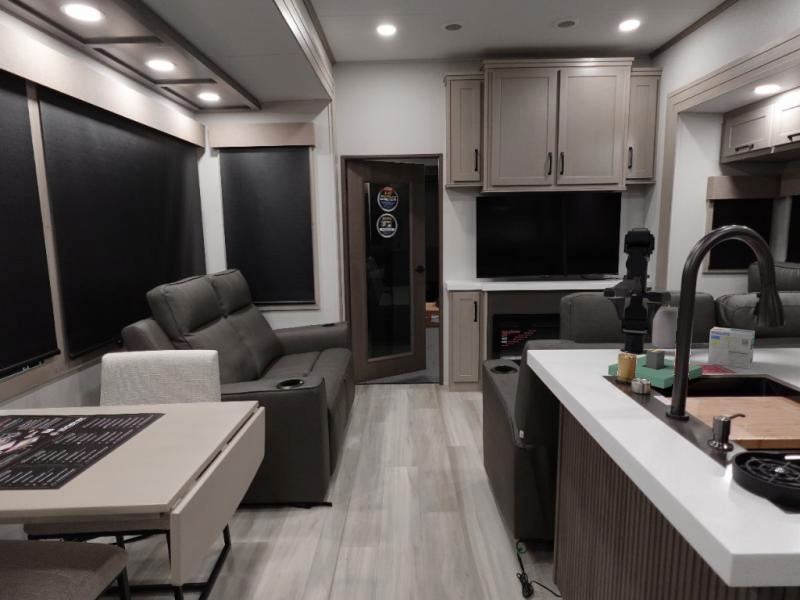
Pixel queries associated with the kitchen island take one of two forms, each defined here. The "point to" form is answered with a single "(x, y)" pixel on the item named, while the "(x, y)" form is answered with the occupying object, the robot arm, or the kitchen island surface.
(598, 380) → the kitchen island surface
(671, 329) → the pillar candle
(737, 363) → the light bulb box
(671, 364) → the socket board
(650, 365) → the plug block
